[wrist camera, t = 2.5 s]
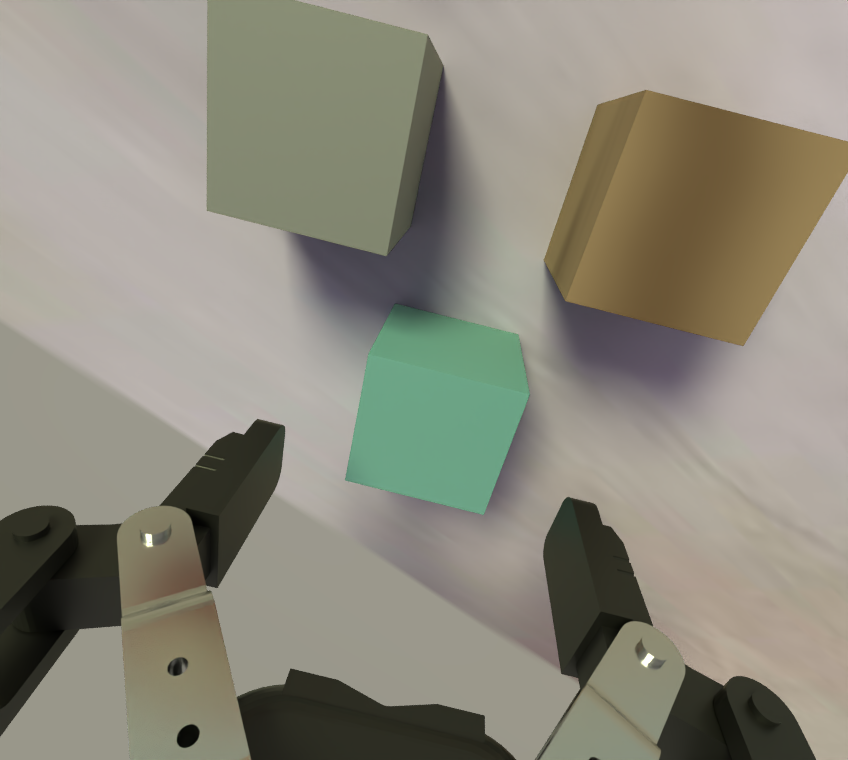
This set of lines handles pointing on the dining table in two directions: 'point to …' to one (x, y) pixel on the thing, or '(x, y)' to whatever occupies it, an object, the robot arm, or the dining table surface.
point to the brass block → (689, 213)
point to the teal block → (438, 409)
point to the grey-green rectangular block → (317, 120)
